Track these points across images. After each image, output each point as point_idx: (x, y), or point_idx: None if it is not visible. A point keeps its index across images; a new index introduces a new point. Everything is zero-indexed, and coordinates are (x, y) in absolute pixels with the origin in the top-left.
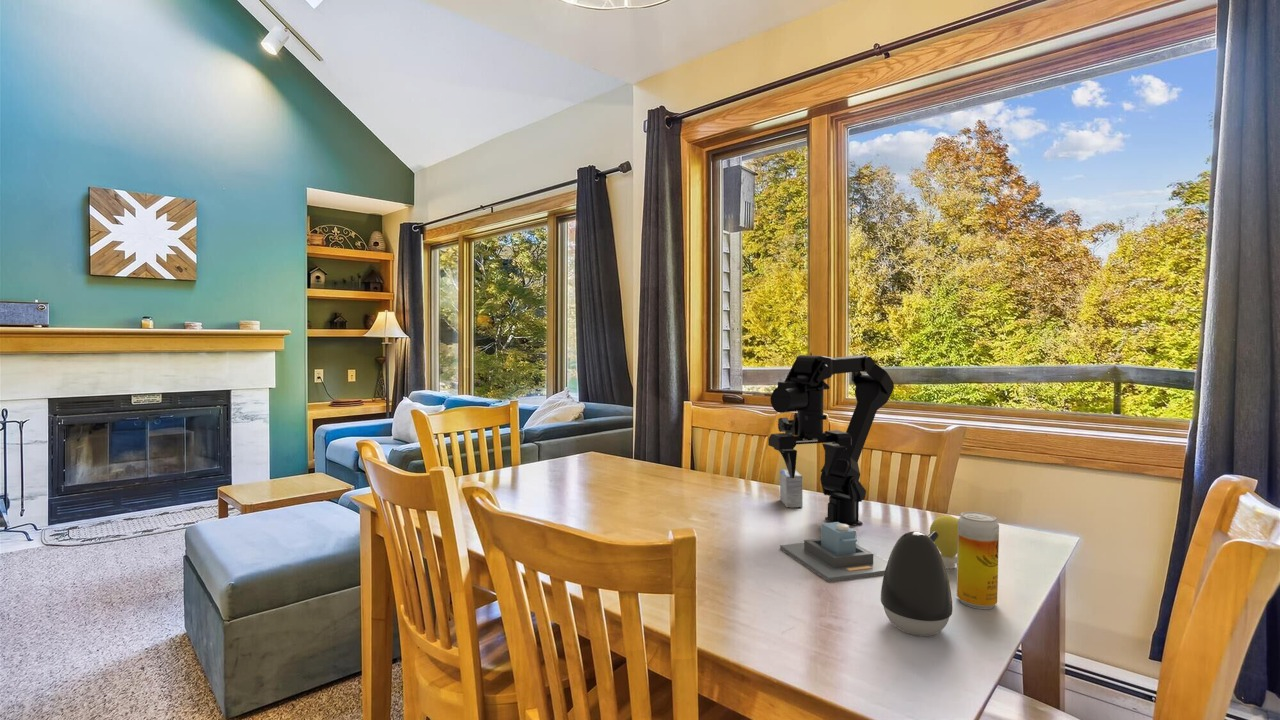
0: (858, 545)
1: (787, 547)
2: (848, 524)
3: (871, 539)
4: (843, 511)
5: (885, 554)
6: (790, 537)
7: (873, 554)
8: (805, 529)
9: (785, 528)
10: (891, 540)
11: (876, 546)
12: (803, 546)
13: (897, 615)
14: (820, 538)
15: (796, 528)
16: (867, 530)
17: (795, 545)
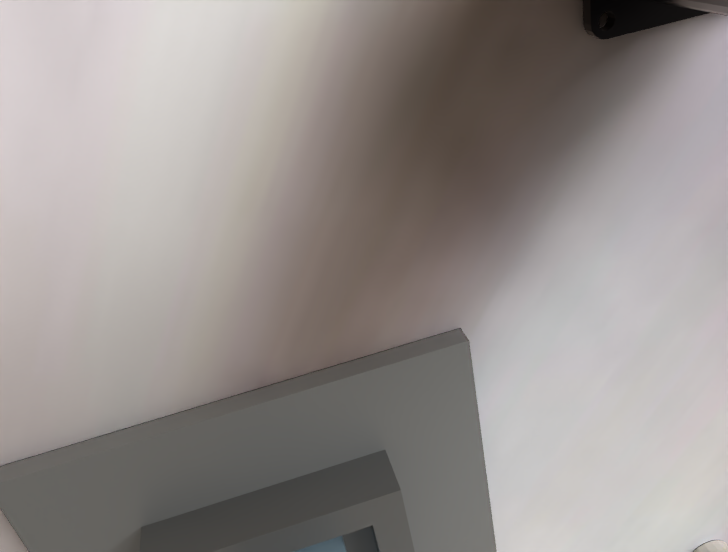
0: (480, 445)
1: (33, 515)
2: (664, 23)
3: (633, 283)
4: (711, 5)
5: (561, 476)
6: (108, 257)
7: (486, 540)
8: (286, 66)
9: (104, 25)
10: (723, 295)
11: (588, 384)
12: (147, 489)
13: None
14: (254, 542)
15: (212, 32)
16: (722, 113)
17: (96, 481)
